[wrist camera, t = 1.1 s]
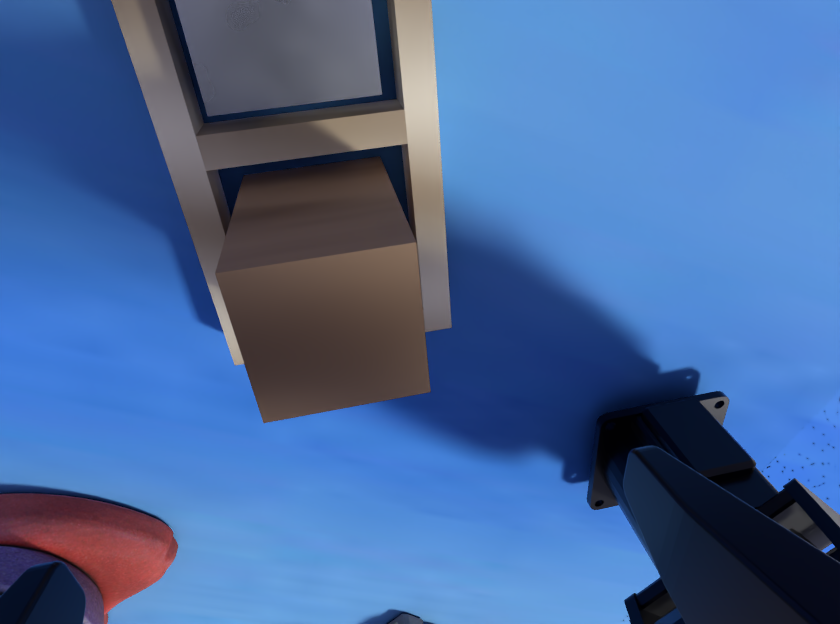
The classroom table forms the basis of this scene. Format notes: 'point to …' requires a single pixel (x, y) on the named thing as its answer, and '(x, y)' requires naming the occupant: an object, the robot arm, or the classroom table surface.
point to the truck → (406, 620)
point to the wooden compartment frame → (295, 140)
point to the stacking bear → (84, 546)
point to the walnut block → (324, 289)
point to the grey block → (280, 52)
